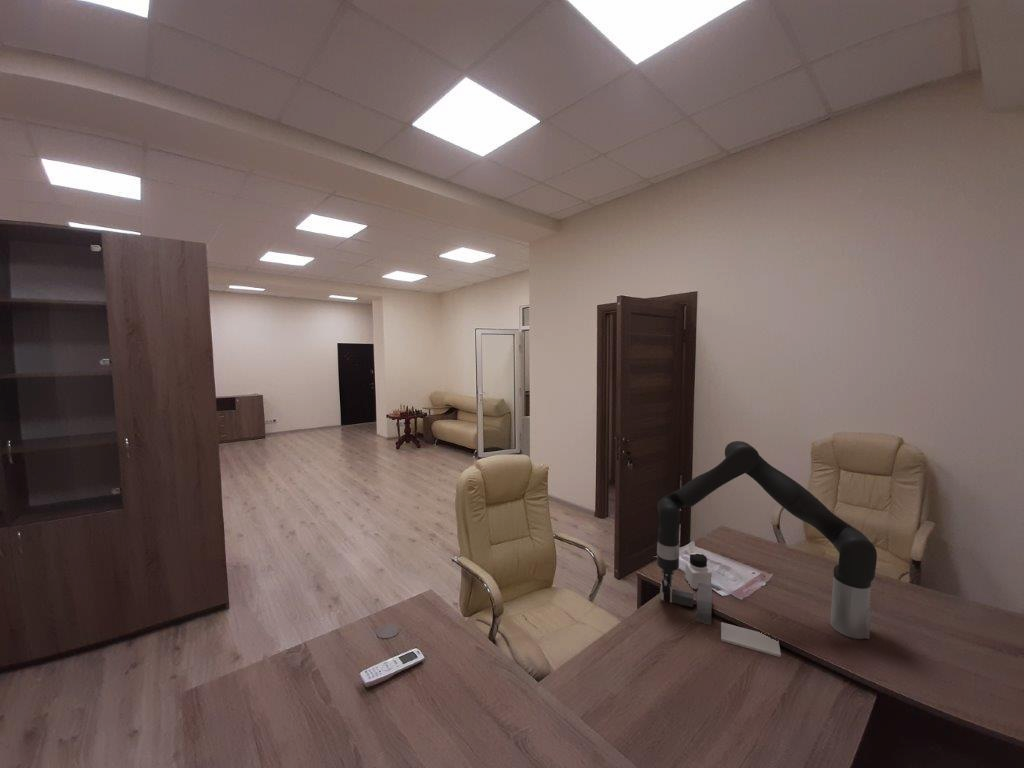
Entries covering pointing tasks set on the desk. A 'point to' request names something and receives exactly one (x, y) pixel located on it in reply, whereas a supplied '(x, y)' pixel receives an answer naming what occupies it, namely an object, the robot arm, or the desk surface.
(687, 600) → the plug bar
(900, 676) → the desk surface
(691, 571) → the medicine bottle
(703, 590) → the shaft block
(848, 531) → the robot arm
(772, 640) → the mat
